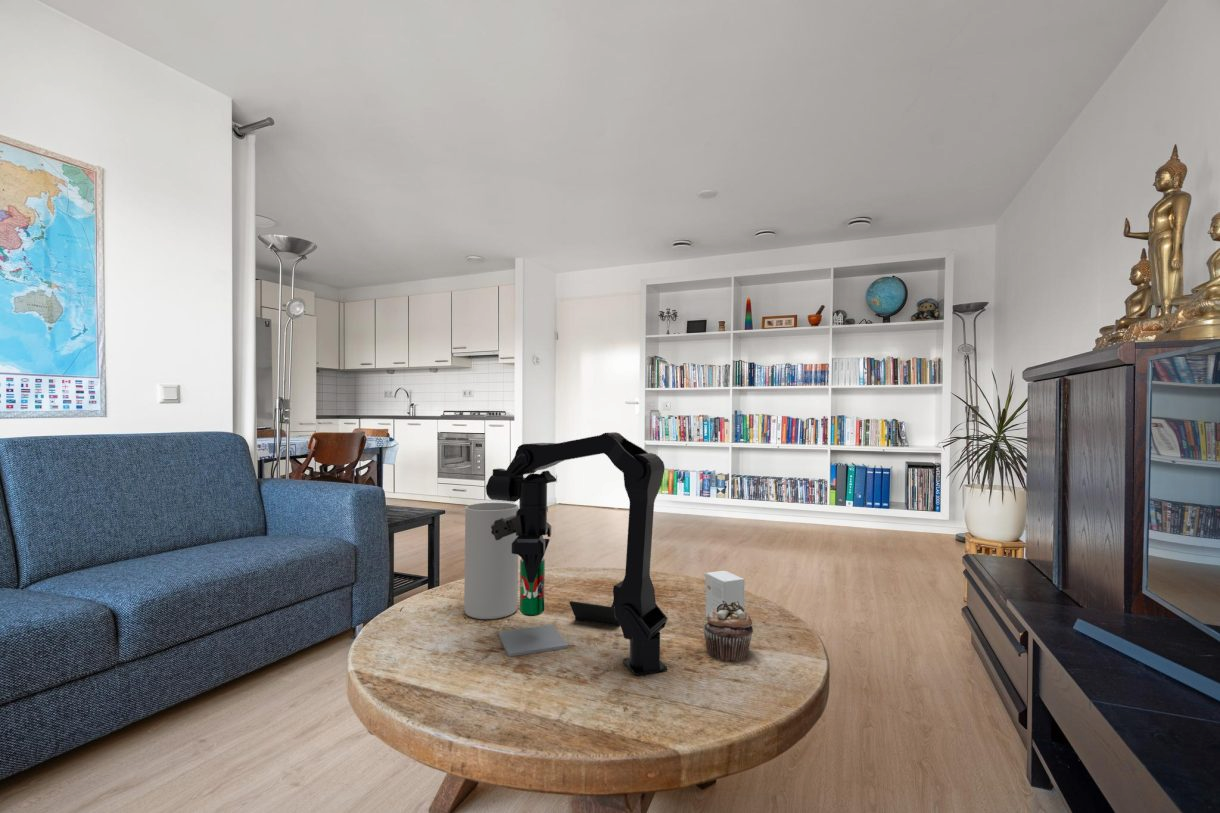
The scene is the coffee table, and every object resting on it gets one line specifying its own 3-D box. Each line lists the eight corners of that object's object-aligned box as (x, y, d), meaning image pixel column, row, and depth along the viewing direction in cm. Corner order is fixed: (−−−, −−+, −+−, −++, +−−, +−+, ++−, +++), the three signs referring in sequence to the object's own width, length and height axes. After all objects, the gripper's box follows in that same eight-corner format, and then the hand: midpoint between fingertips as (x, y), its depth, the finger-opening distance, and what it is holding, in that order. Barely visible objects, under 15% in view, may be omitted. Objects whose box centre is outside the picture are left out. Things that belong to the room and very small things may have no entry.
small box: (745, 626, 127) (745, 578, 127) (723, 629, 125) (724, 581, 125) (725, 614, 134) (725, 569, 134) (704, 617, 132) (705, 572, 132)
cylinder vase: (511, 600, 143) (512, 501, 144) (522, 616, 132) (523, 509, 132) (461, 605, 139) (462, 503, 139) (467, 623, 127) (469, 511, 128)
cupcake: (740, 642, 118) (741, 593, 118) (760, 662, 108) (760, 609, 108) (696, 644, 116) (696, 595, 117) (712, 665, 107) (712, 611, 107)
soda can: (545, 608, 120) (545, 552, 120) (543, 617, 115) (543, 557, 115) (521, 608, 120) (521, 552, 120) (518, 617, 115) (518, 558, 115)
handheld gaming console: (628, 608, 134) (619, 582, 128) (627, 636, 128) (617, 610, 122) (582, 611, 136) (570, 586, 130) (578, 639, 130) (566, 613, 125)
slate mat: (568, 648, 114) (568, 645, 114) (508, 656, 110) (508, 653, 110) (552, 627, 125) (552, 624, 125) (497, 634, 121) (497, 631, 121)
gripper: (502, 497, 127) (501, 566, 127) (485, 510, 108) (484, 592, 108) (551, 497, 127) (551, 566, 127) (543, 510, 109) (543, 592, 108)
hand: (532, 578), depth 118 cm, fingers closed on soda can, 5 cm apart
